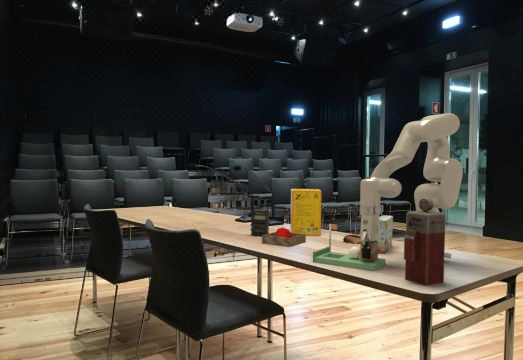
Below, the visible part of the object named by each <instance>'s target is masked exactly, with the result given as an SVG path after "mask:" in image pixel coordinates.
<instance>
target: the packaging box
mask: <svg viewBox="0 0 523 360" xmlns="http://www.w3.org/2000/svg"><path fill="white" fill-rule="evenodd" d="M289 231H290V232H291V233H299V234H306V237H322V190H321V189H319V188H316V189H315V188H291V189H290V229H289Z"/></svg>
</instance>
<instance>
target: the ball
mask: <svg viewBox="0 0 523 360" xmlns="http://www.w3.org/2000/svg"><path fill="white" fill-rule="evenodd" d="M348 254H349V255H350V257H351V258H353V259H357V258H359V257H360V247H358V246H352V247H350V248H349V250H348Z"/></svg>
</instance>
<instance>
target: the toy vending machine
mask: <svg viewBox="0 0 523 360" xmlns="http://www.w3.org/2000/svg"><path fill="white" fill-rule="evenodd" d="M419 208H420V209H421V210H422V211H416V210H413V211H412V210H411V211H407V212H406V214H405V217H406V219H405V223H406V224H405V233H404V237H403V238H404V239H403V240H404V241H403V260H405V264H404V265H405V267H404V280H406V281H410V282H412V283H416V284H419V285H423V286H431V285H432V286H433V285H437V284H442V283H444V280H445V278H444V277H445V257H444V253H445V251H446V250H445V247H446V246H445V245H446V244H445V243H446V214H445V213H444V212H440V211H439V212H432V211H430V210H431V209H432V208H433V202H432V200H431V199H429V198H424V199H421V200H420V201H419Z"/></svg>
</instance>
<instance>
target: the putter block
mask: <svg viewBox="0 0 523 360" xmlns="http://www.w3.org/2000/svg"><path fill="white" fill-rule="evenodd" d="M367 244H368V242H367ZM359 245H360V247H359V249H360V260H364V261H372V262H373V261H375V260H377V259H378V258H379V253H378V241H371V242H370V249H371V257H370V259H364V258H362V242H361V243H360V244H359Z"/></svg>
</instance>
